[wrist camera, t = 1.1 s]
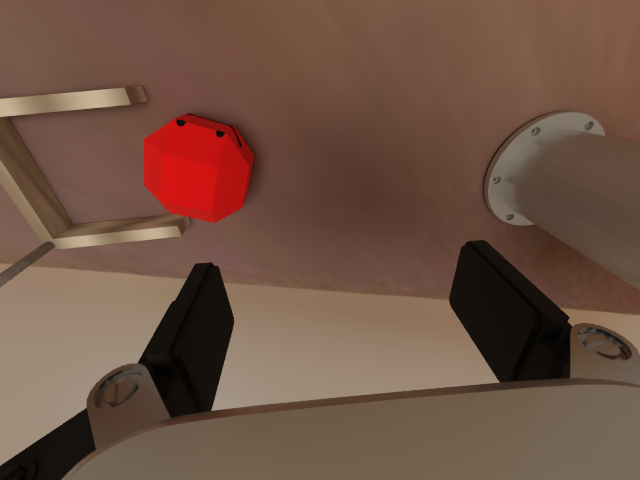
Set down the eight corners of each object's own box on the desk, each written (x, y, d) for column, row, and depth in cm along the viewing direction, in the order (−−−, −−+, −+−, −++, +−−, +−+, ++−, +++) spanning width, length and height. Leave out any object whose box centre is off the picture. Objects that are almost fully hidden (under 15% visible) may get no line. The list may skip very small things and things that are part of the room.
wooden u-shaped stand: (142, 86, 25) (33, 96, 14) (190, 222, 31) (140, 295, 21) (-17, 100, 24) (-247, 122, 14) (67, 235, 31) (-44, 316, 21)
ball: (260, 129, 27) (250, 147, 21) (246, 203, 31) (234, 239, 24) (172, 103, 25) (129, 114, 19) (168, 185, 29) (132, 218, 23)
